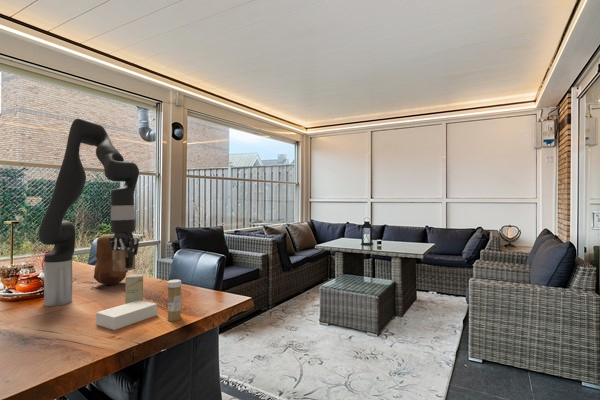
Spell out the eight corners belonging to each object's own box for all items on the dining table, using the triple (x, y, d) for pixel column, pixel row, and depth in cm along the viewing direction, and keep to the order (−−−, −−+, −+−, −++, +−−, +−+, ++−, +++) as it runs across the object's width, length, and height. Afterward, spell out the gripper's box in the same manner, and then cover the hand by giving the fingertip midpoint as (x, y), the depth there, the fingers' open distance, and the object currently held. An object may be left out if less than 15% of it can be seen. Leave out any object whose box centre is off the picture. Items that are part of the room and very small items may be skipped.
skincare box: (125, 309, 126) (125, 277, 126) (125, 306, 130) (125, 275, 130) (143, 307, 129) (143, 275, 129) (143, 303, 133) (143, 273, 133)
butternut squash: (121, 279, 174) (121, 232, 174) (130, 284, 164) (130, 233, 164) (90, 284, 164) (90, 234, 164) (98, 289, 154) (98, 236, 154)
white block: (96, 324, 111) (96, 312, 111) (139, 310, 125) (139, 299, 125) (114, 330, 106) (114, 317, 106) (157, 314, 120) (157, 303, 120)
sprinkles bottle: (164, 319, 116) (164, 280, 116) (177, 316, 119) (177, 278, 119) (171, 322, 112) (171, 282, 113) (183, 319, 116) (183, 280, 116)
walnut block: (112, 270, 115) (112, 250, 115) (126, 268, 119) (126, 248, 119) (121, 271, 112) (121, 251, 112) (135, 269, 117) (134, 249, 117)
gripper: (146, 218, 116) (147, 266, 115) (120, 218, 123) (121, 264, 122) (125, 219, 109) (126, 271, 109) (100, 219, 116) (101, 267, 116)
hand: (124, 267), depth 116 cm, fingers closed on walnut block, 5 cm apart
